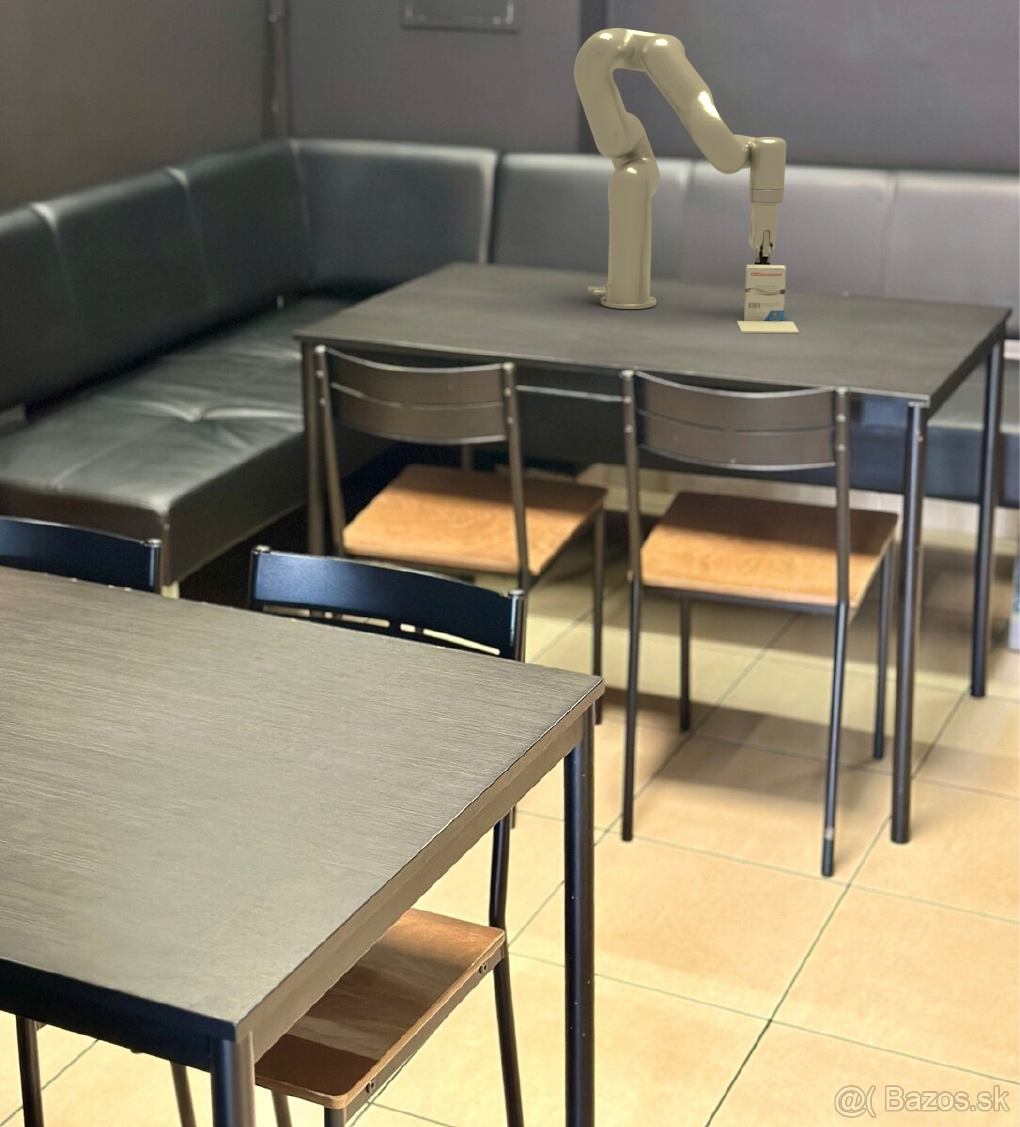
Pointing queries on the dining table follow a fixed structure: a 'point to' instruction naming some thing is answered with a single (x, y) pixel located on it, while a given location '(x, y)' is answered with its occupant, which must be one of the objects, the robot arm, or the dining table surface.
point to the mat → (767, 327)
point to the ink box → (765, 293)
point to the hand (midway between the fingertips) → (761, 280)
